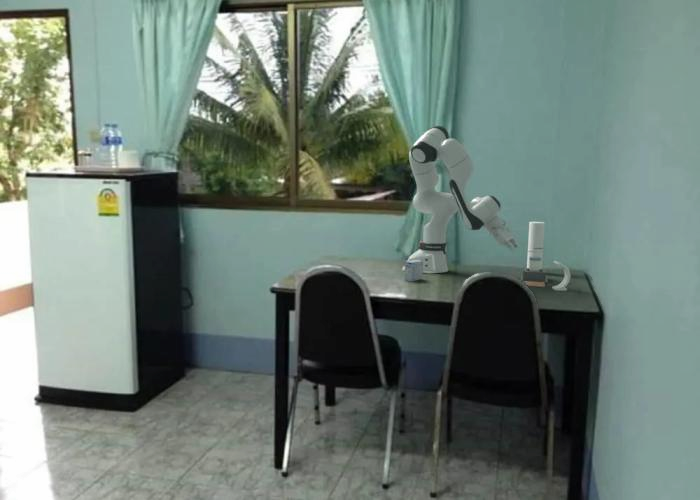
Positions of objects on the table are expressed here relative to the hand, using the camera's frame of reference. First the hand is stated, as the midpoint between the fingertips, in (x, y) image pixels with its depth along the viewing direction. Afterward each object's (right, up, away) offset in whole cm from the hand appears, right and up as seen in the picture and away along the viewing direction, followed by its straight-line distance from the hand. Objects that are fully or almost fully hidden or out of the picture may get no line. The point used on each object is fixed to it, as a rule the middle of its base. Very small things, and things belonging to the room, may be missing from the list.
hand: (515, 248), depth 287 cm
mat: (+5, -16, -13) cm, 21 cm away
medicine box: (-48, -15, -5) cm, 50 cm away
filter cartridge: (+8, -14, -1) cm, 16 cm away
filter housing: (+8, -14, -1) cm, 17 cm away
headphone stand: (+14, -18, -22) cm, 32 cm away
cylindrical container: (+14, -12, +17) cm, 25 cm away
